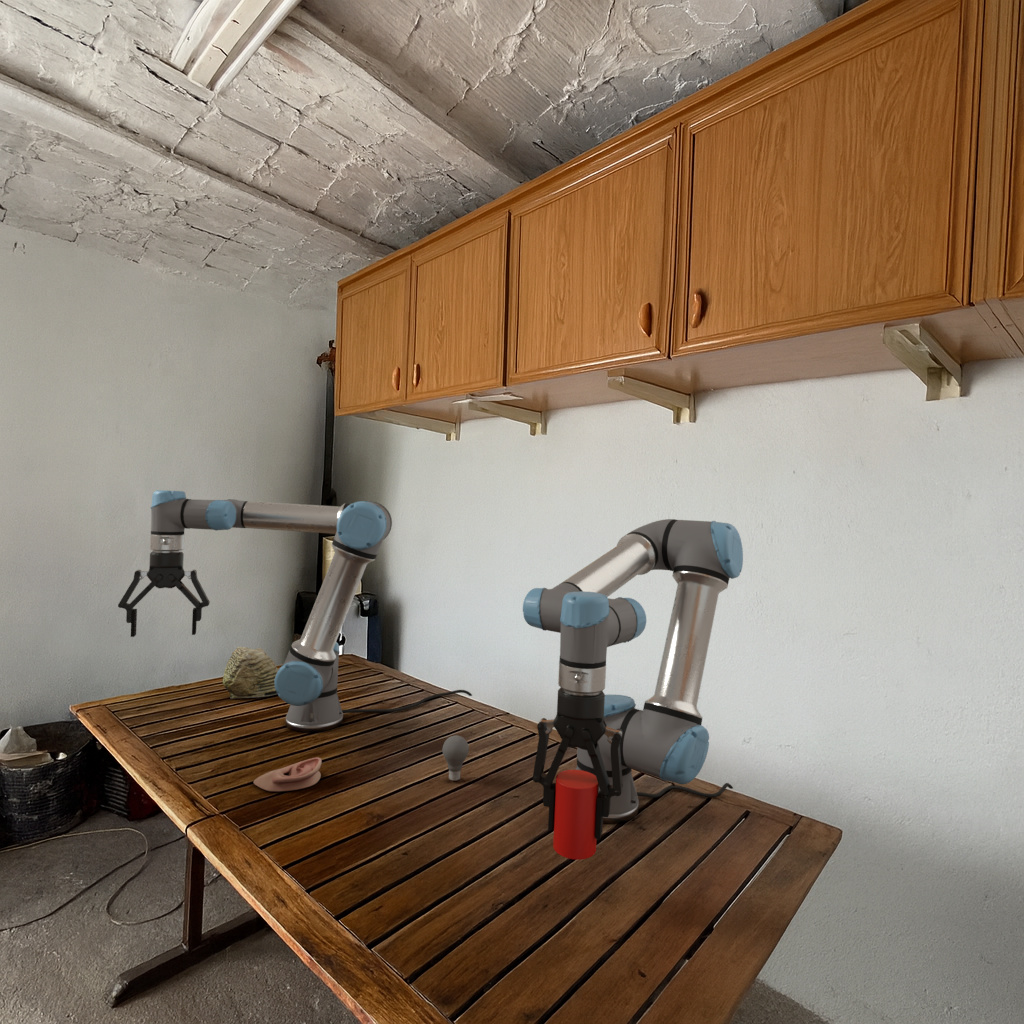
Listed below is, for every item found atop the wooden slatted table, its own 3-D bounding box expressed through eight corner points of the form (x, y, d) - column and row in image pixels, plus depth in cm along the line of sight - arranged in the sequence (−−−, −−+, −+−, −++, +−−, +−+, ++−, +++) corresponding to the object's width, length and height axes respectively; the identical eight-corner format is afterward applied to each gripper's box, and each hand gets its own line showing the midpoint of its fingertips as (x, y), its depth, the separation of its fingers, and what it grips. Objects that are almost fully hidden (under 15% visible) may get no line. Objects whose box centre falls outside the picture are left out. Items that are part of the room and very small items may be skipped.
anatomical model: (245, 769, 136) (276, 749, 147) (245, 787, 136) (275, 766, 147) (302, 777, 133) (328, 756, 144) (301, 796, 133) (328, 773, 144)
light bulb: (441, 773, 147) (443, 731, 147) (467, 774, 147) (469, 731, 147) (440, 785, 141) (442, 741, 141) (467, 785, 141) (469, 741, 141)
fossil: (218, 695, 195) (220, 647, 195) (278, 685, 208) (279, 640, 207) (228, 703, 189) (230, 653, 188) (289, 692, 201) (290, 645, 201)
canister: (544, 846, 102) (547, 777, 102) (571, 831, 107) (573, 765, 107) (578, 865, 97) (581, 792, 97) (604, 848, 102) (607, 779, 102)
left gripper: (106, 552, 152) (103, 639, 153) (220, 553, 161) (217, 636, 162) (113, 549, 159) (110, 633, 160) (222, 550, 168) (219, 629, 169)
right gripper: (515, 688, 101) (509, 830, 101) (642, 704, 95) (635, 854, 96) (527, 675, 108) (522, 808, 109) (646, 690, 103) (639, 830, 103)
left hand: (164, 634), depth 161 cm, fingers open, 13 cm apart
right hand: (575, 830), depth 102 cm, fingers closed on canister, 7 cm apart
